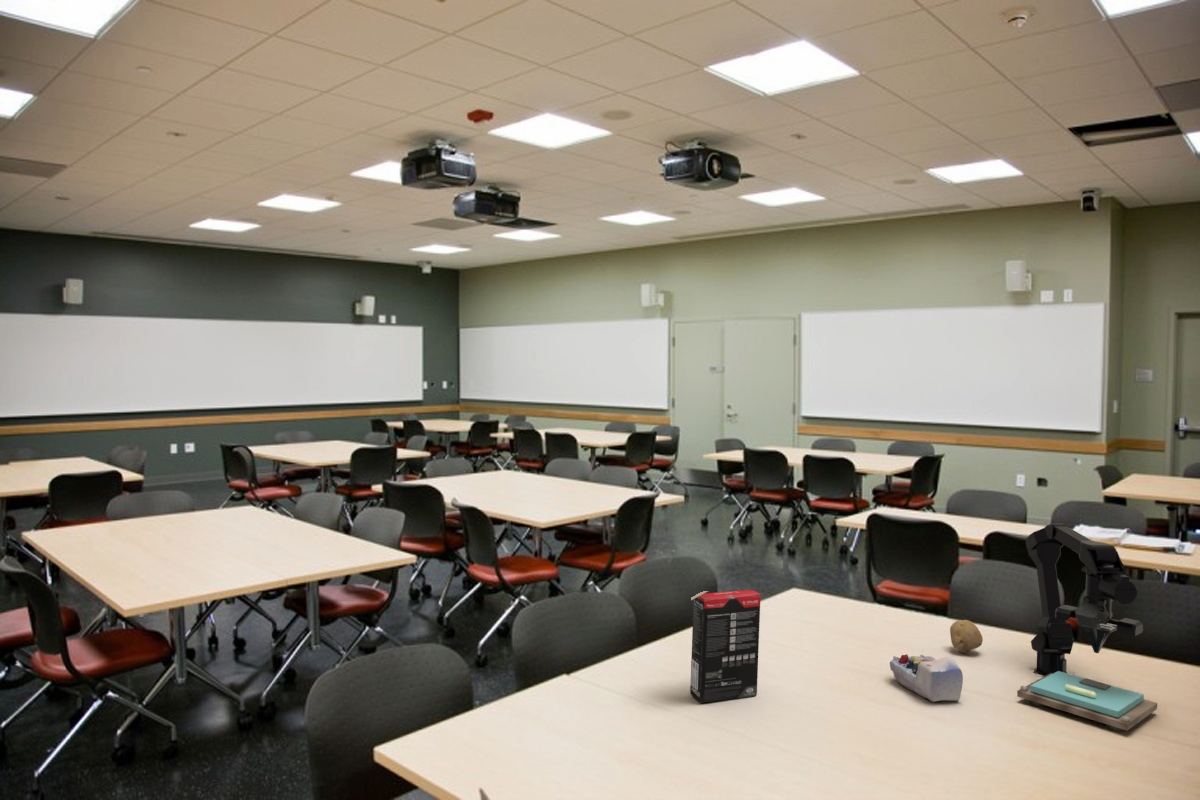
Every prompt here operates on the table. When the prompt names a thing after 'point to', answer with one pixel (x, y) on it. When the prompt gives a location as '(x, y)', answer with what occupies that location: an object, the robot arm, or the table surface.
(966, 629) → the potato
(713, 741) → the table surface
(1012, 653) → the table surface
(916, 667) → the cell model
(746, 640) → the graphics card box
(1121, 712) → the plate
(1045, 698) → the base
